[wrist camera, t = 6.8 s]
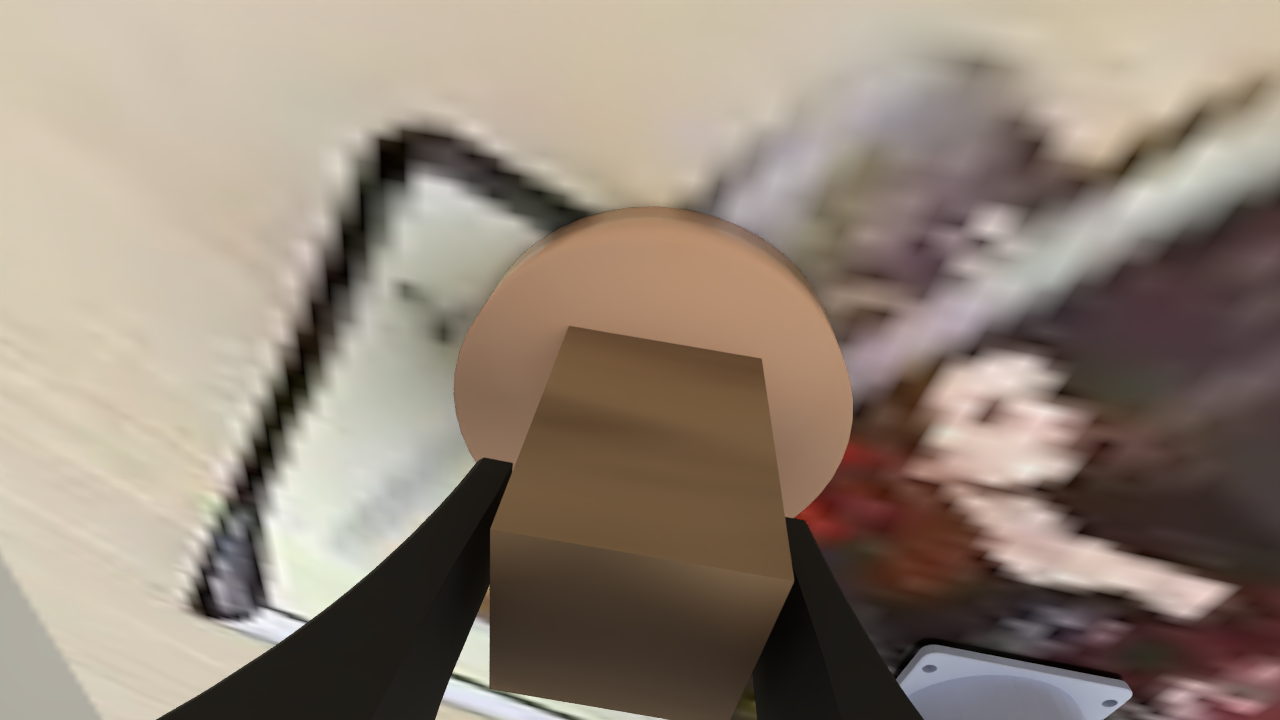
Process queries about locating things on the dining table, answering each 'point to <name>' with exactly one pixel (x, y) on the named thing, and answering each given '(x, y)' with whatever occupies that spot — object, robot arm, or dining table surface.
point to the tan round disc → (660, 329)
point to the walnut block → (640, 532)
